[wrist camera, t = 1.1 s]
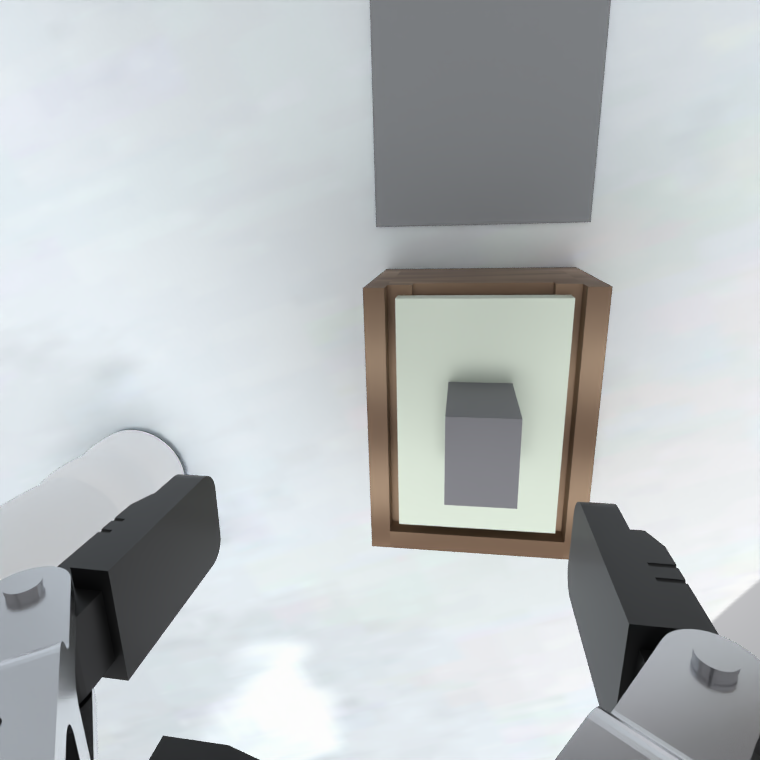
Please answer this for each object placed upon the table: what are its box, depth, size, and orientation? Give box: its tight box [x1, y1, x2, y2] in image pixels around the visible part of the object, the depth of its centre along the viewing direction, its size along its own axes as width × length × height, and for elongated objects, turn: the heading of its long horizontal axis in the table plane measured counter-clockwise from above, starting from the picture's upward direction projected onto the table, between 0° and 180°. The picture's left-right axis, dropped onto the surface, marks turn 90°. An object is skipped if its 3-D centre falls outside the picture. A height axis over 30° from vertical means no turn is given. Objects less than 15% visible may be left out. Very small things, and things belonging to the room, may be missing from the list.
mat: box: [370, 0, 611, 227], centre depth 28 cm, size 14×12×1 cm
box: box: [363, 267, 612, 559], centre depth 30 cm, size 14×11×8 cm
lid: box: [395, 295, 575, 533], centre depth 24 cm, size 12×8×6 cm, turn 2°
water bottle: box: [0, 430, 184, 580], centre depth 28 cm, size 7×7×25 cm
